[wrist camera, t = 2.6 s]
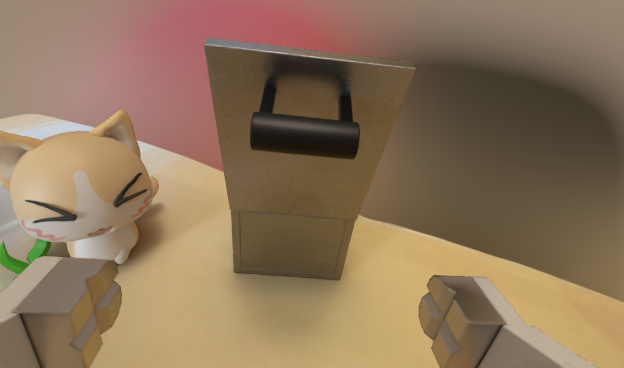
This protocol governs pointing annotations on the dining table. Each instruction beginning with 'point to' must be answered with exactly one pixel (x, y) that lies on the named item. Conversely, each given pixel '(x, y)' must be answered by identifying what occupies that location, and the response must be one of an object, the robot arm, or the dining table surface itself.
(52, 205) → the kitten
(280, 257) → the tin
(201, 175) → the dining table surface
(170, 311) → the dining table surface
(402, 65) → the tin lid
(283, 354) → the dining table surface
